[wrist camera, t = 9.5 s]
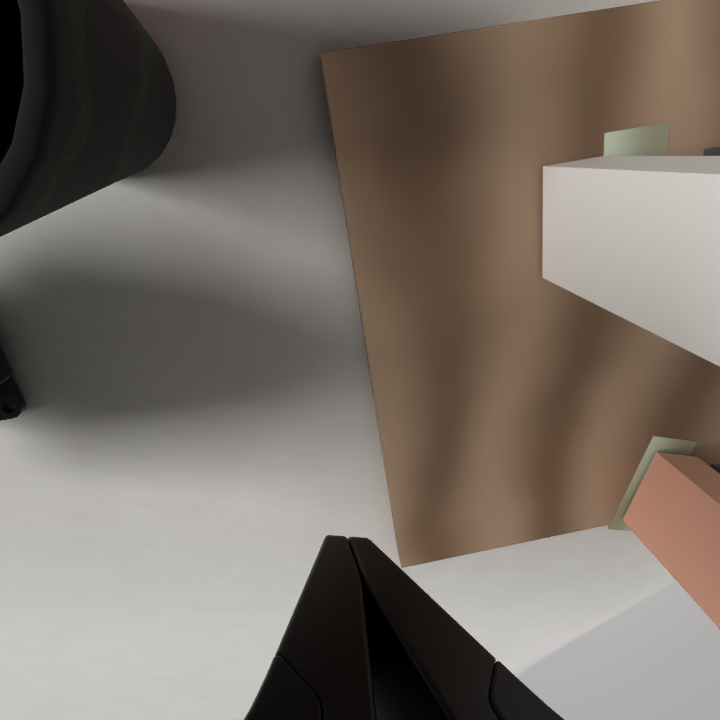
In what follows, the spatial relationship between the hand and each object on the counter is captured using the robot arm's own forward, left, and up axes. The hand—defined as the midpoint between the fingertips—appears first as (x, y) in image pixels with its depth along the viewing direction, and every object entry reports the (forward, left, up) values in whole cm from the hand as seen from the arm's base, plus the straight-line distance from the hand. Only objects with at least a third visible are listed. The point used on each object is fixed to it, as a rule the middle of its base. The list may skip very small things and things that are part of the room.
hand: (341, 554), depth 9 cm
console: (+11, -2, -13) cm, 17 cm away
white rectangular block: (+11, +3, -12) cm, 17 cm away
